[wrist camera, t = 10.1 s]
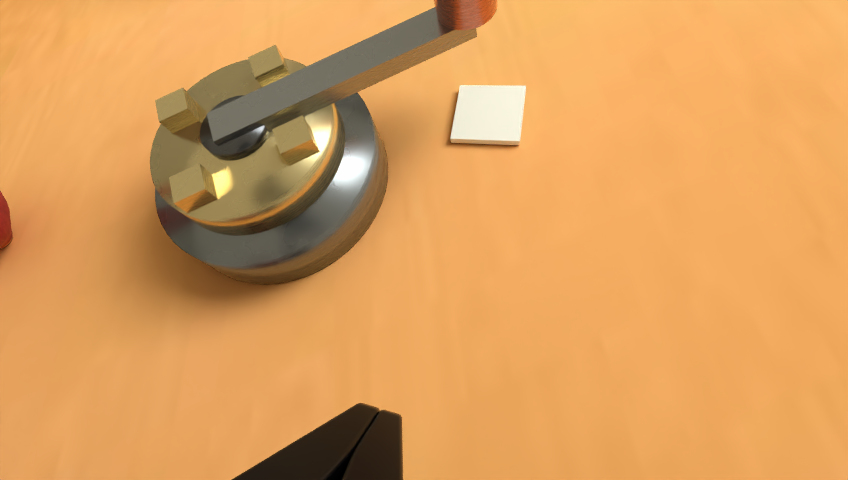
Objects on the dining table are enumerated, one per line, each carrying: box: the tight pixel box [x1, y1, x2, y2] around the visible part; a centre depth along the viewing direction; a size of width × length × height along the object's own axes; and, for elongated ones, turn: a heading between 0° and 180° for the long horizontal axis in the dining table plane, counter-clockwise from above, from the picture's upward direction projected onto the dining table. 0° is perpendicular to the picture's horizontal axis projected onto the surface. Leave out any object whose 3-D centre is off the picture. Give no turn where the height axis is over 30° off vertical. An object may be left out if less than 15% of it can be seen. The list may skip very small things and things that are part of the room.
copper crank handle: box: [150, 0, 497, 236], centre depth 20 cm, size 20×10×12 cm, turn 113°
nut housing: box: [155, 93, 388, 284], centre depth 27 cm, size 13×13×3 cm
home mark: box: [450, 85, 526, 145], centre depth 27 cm, size 4×4×1 cm
